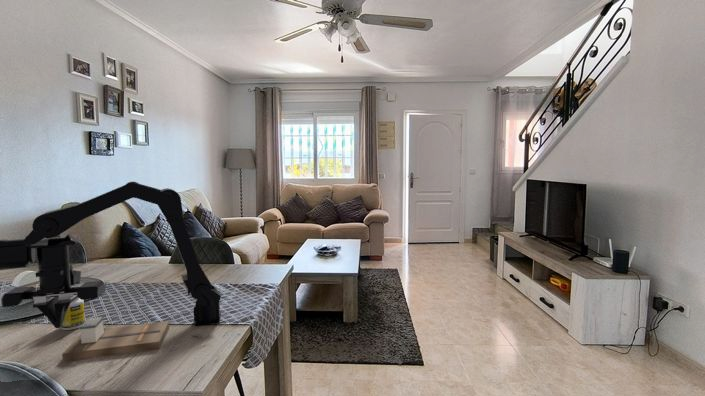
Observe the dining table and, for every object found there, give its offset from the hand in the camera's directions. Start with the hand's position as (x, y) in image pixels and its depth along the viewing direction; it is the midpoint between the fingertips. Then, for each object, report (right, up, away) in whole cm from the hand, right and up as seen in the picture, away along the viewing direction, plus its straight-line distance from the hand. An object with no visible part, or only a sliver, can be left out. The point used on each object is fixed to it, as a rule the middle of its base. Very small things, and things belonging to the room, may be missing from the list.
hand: (58, 327), depth 86 cm
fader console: (+12, -6, +4) cm, 14 cm away
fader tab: (+7, -3, +2) cm, 8 cm away
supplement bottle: (-7, -5, +14) cm, 17 cm away
